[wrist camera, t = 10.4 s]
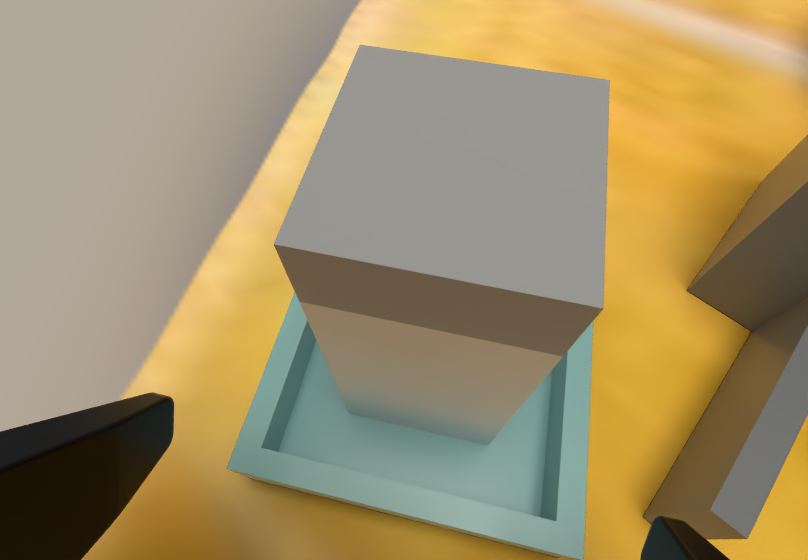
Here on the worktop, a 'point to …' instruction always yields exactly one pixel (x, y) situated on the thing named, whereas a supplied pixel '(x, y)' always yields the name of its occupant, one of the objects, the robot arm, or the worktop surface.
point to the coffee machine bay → (750, 362)
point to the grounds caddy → (450, 236)
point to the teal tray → (425, 452)
